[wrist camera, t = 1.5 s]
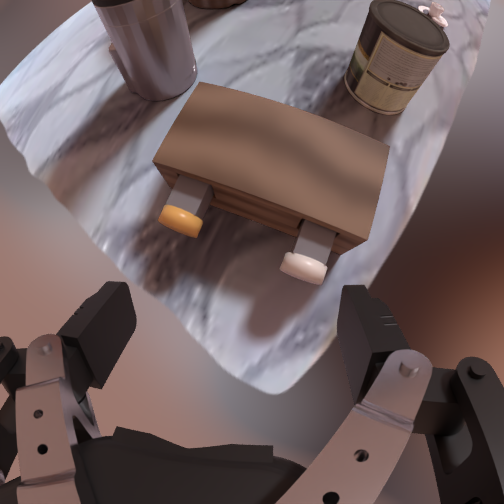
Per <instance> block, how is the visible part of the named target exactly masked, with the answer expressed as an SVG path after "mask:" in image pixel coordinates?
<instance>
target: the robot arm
mask: <svg viewBox="0 0 504 504" xmlns="http://www.w3.org/2000/svg"><path fill="white" fill-rule="evenodd" d="M92 2H93V4H94V6H95V8H96V11H97V13H98V15H99V17H100V19H101V21H102V23H103V25H104V27H105V29H106V31H107V33H108V35H109V37H110V39H111V41H112V44H111V45H110V47H109V52H110V54H111V56H112V57H113V59H114V61H115V63H116V65H117V67H118V69H119V71H120V73H121V74H122V76H123V78H124V80H125V82H126V84H127V86H128V87H129V89H130V91H131V92H135V93H138V94H139V95H140V96H141V97H142V98H144V99H147V100H151V101H160V100H166V99H170V98H173V97H175V96H178V95H179V94H181V93H183V92H184V91H186V90H187V89H188V88H189V87H190V86H191V85H192V84H193V83H194V81H195V79H196V76H197V66H196V60H195V57H194V53H193V48H192V43H191V39H190V34H189V30H188V25H187V21H186V16H185V11H184V7H183V2H182V0H92ZM135 328H136V314H135V310H134V306H133V302H132V298H131V294H130V290H129V287H128V285H127V283H125V282H114V281H108V282H106V283H105V284H104V285H103V286H102V287H101V289H100V290H99V291H98V292H97V293H95V294H94V295H92V296H91V297H90V298H88V299H86V300H85V301H84V302H83V304H82V305H81V306H80V308H78V309H77V311H75V313H74V315H72V316H71V317H70V318H69V320H68V321H67V322H66V323H65V324H64V326H63V327H62V328H61V329H60V330H59V332H58V333H57V334H56V335H55V334H46V335H42V336H40V337H38V338H36V339H35V340H33V341H32V342H31V343H30V345H29V346H28V348H22V349H16V347H15V345H14V343H13V342H12V340H11V339H10V338H9V337H0V384H1V383H2V385H3V386H4V388H5V389H6V391H7V392H8V393H9V397H8V399H7V400H6V402H5V403H4V405H3V407H2V408H1V410H0V504H373V503H374V501H375V500H376V498H377V496H378V495H379V493H380V492H381V490H382V488H383V487H384V485H385V483H386V481H387V480H388V478H389V476H390V474H391V473H392V470H393V469H394V467H395V465H396V463H397V461H398V459H399V457H400V456H401V453H402V452H403V450H404V447H405V445H406V443H407V441H408V439H409V437H410V435H411V433H418V434H425V436H426V440H427V444H428V447H429V452H430V455H431V459H432V464H433V468H434V472H435V476H436V482H437V486H438V491H439V496H440V502H441V504H504V387H503V385H502V384H501V382H500V380H499V378H498V377H497V375H496V373H495V371H494V369H493V368H492V367H491V365H490V364H488V363H487V362H486V361H484V360H483V359H480V358H477V357H466V358H464V359H462V360H461V361H460V362H459V364H458V366H457V368H456V370H453V369H443V368H435V367H432V365H431V363H430V361H429V360H428V359H427V357H426V356H424V355H423V354H421V353H419V352H417V351H414V350H411V349H410V347H409V345H408V343H407V341H406V339H405V337H404V335H403V333H402V331H401V329H400V328H399V326H398V324H397V322H396V320H395V319H394V317H393V315H392V313H391V311H390V310H389V307H388V306H387V305H386V304H385V303H384V302H382V301H381V300H380V299H379V298H371V296H370V294H369V292H368V290H367V289H366V287H365V285H344V286H343V288H342V294H341V301H340V307H339V314H338V320H337V335H338V340H339V344H340V348H341V351H342V355H343V359H344V363H345V367H346V371H347V375H348V380H349V384H350V388H351V392H352V396H353V400H354V405H355V406H354V408H353V409H352V411H351V412H350V414H349V415H348V417H347V418H346V419H345V421H344V422H343V423H342V425H341V426H340V428H339V429H338V430H337V432H336V433H335V435H334V436H333V437H332V438H331V440H330V441H329V442H328V444H327V445H326V446H325V448H324V449H323V450H322V451H321V453H320V454H319V455H318V456H317V458H316V459H315V460H314V461H313V462H312V464H311V465H310V466H309V467H308V468H305V467H303V466H301V465H300V464H297V463H295V462H293V461H290V460H287V459H284V458H281V457H276V456H273V446H268V445H265V446H264V445H263V446H262V445H238V444H228V445H220V446H212V447H203V448H190V449H189V448H184V447H181V446H179V445H176V444H173V443H171V442H169V441H166V440H164V439H161V438H159V437H157V436H155V435H152V434H150V433H145V432H140V431H135V430H130V429H126V428H122V427H118V426H117V427H116V429H115V432H114V434H113V436H105V437H102V436H101V434H100V431H99V428H98V425H97V421H96V418H95V414H94V411H93V407H92V403H91V399H90V396H89V394H88V392H87V389H88V388H89V386H90V387H94V388H98V389H102V388H103V386H104V384H105V382H106V380H107V379H108V377H109V375H110V373H111V371H112V370H113V368H114V366H115V364H116V362H117V361H118V359H119V357H120V355H121V353H122V352H123V350H124V348H125V347H126V345H127V343H128V341H129V340H130V338H131V336H132V334H133V333H134V331H135ZM471 438H472V439H471ZM17 453H18V457H19V466H20V473H21V476H19V477H17V478H15V479H13V480H11V481H9V482H7V483H5V479H6V477H7V475H8V472H9V470H10V467H11V465H12V463H13V461H14V459H15V457H16V455H17Z"/></svg>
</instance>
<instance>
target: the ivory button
mask: <svg viewBox="0 0 504 504" xmlns="http://www.w3.org/2000/svg"><path fill="white" fill-rule="evenodd" d="M336 233H337V232H335V231H333V230H331V229H328V228H326V227H323V226H321V225H318V224H316V223H313V222H311V221H308V220H305V219H303V220H302V223H301V226H300V228H299V231H298V234H297V237H296V239H295V242H294V245H293V248H292V250H291V252H287V253H285V256H284V259H283V261H282V264H281V267H280V270H281V271H282V272H284V273H286V274H288V275H290V276H292V277H295V278H297V279H300V280H303V281H306V282H309V283H313V284H317V285H322V283H323V280H324V277H325V274H326V271H327V266H325V265H326V263H327V260H328V257H329V254H330V251H331V248H332V245H333V242H334V239H335V236H336Z"/></svg>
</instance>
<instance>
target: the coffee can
mask: <svg viewBox="0 0 504 504" xmlns="http://www.w3.org/2000/svg"><path fill="white" fill-rule="evenodd" d="M448 49H449V40H448V38H447V36H446V34H445V32H444V31H443V30H442V29H441V27H440V26H439V25H438V24H437V23H436V22H435V21H434V20H432V19H431V18H430V17H429V16H427V15H426V14H424V13H423V12H421V11H420V10H418V9H416V8H414V7H412V6H410V5H408V4H406V3H403V2H400V1H397V0H373V1H372V2H371V4H370V7H369V13H368V15H367V18H366V21H365V24H364V26H363V29H362V32H361V35H360V37H359V40H358V43H357V45H356V48H355V51H354V53H353V56H352V59H351V61H350V64H349V67H348V69H347V71H346V73H345V76H344V81H345V85H346V87H347V89H348V91H349V93H350V94H351V95H352V96H353V98H354V99H355V100H357V101H358V102H359V103H360V104H361V105H363V106H364V107H366V108H368V109H370V110H372V111H374V112H377V113H381V114H385V115H394V114H398V113H401V112H402V111H403V110H404V109H405V108H406V106H407V104H408V103H409V101H410V100H411V99H412V97H413V96H414V95H415V93H416V92H417V90H418V89H419V88H420V86H421V85H422V84H423V82H424V81H425V79H426V78H427V76H428V75H429V74H430V72H431V71H432V69H433V68H434V67H435V65H436V64H437V62H438V61H439V59H440V58H441V56H442V55H443V54H444V53H446V51H447V50H448Z"/></svg>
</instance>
